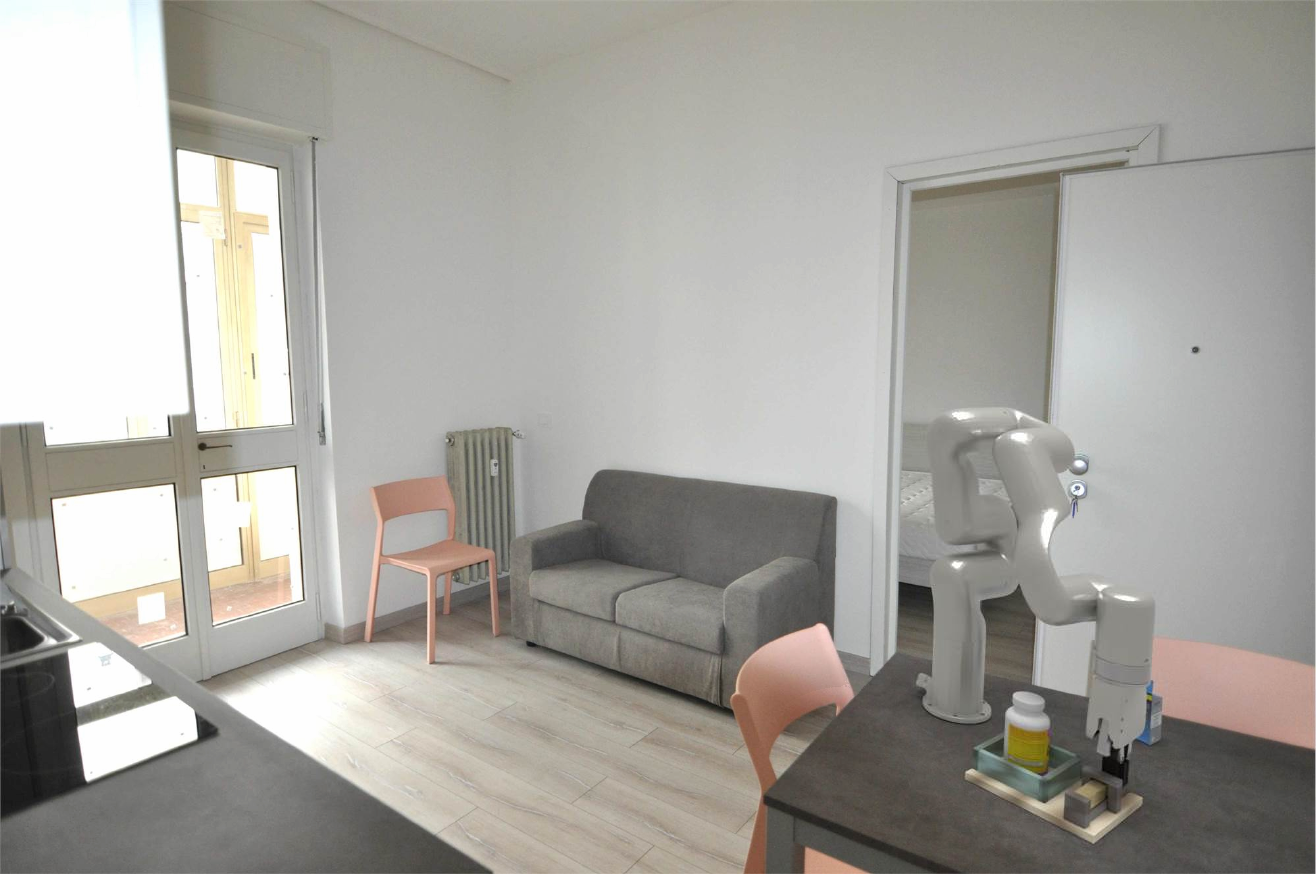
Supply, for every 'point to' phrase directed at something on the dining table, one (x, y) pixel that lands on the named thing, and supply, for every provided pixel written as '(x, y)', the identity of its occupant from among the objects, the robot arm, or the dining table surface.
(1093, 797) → the lock bolt
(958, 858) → the dining table surface
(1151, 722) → the label tape box
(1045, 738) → the supplement bottle
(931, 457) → the robot arm
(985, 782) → the dock
